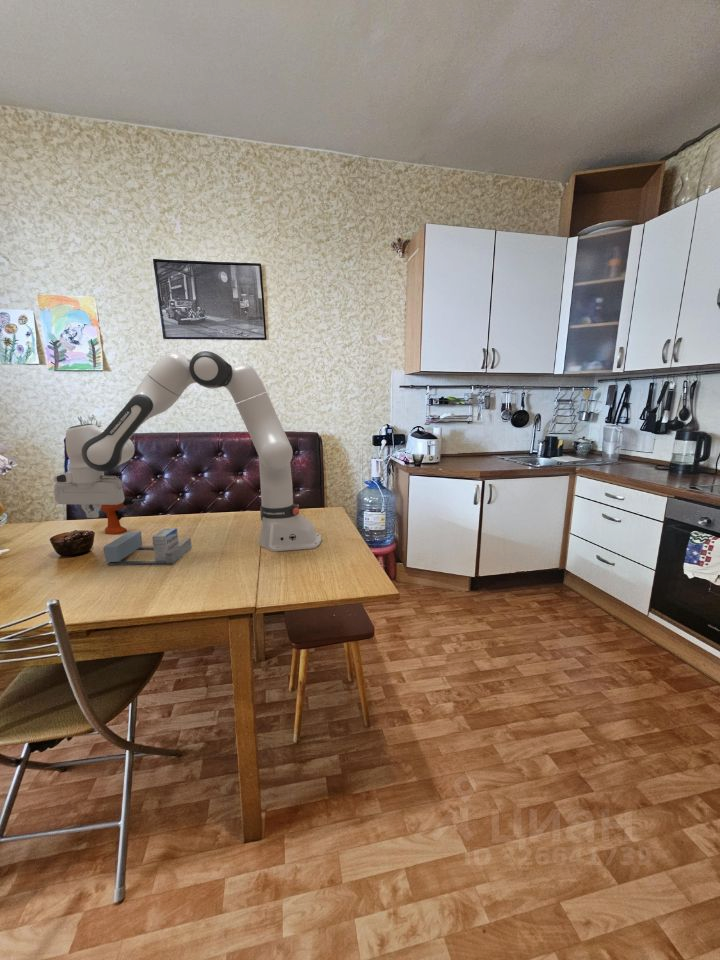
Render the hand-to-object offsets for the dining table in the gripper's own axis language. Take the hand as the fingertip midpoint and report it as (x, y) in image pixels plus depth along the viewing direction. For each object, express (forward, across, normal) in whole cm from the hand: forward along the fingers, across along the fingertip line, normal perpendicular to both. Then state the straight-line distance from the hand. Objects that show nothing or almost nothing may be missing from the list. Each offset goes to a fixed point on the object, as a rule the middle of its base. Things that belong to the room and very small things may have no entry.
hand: (93, 517), depth 126 cm
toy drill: (+14, +4, -24) cm, 28 cm away
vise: (+14, -17, 0) cm, 22 cm away
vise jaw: (+12, -9, 0) cm, 15 cm away
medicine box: (+14, -23, 0) cm, 27 cm away
